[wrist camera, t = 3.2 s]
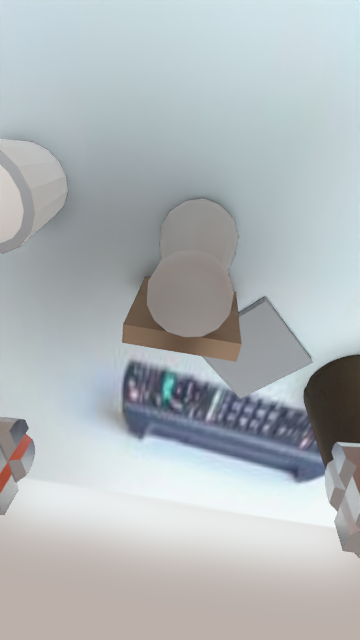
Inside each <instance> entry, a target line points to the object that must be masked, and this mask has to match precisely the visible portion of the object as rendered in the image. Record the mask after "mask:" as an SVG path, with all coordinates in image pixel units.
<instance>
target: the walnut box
mask: <svg viewBox="0 0 360 640" xmlns="http://www.w3.org/2000/svg"><path fill="white" fill-rule="evenodd" d="M149 279H150V278H148V277H145V278H144V281H143V283H142V285H141V287H140V289H139V291H138V294H137V296H136V298H135V300H134V302H133V304H132V307H131V309H130V311H129V313H128V315H127V317H126V320H125V322H124V324H123V338H122V343H128V344H134V345H140V346H146V347H152V348H157V349H163V350H169V351H175V352H181V353H187V354H193V355H199V356H205V357H211V358H217V359H223V360H229V361H235V362H237V359H238V355H239V352H240V348H241V345H242V343H241V334H240V325H239V316H238V307H237V298H236V292H234V295H233V300H232V305H231V310H230V314H229V316H228V317H227V319H226V320H225V321H224V322H223V323H222V324H221V326H220V327H219V328H218V329H216V330H214V331H212V332H210V333H208V334H206V335H204V336H201V337H182V336H179V335H176V334H173V333H170V332H167V331H166V330H165V329H164V328H163V327H161V326H160V325H159V324H158V323H157V322H156V321H155V320H154V319H153V317H152V314H151V312H150V310H149V308H148V306H147V292H148V281H149Z"/></svg>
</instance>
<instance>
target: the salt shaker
mask: <svg viewBox="0 0 360 640" xmlns="http://www.w3.org/2000/svg"><path fill="white" fill-rule="evenodd" d="M238 238H239V235H238V232H237V228H236V224H235V220H234V218H233V217H232V216H231V215H230V214H229V213H228V212H227V211H226V210H225V209H224V208H223V207H222V206H221V205H220V204H217V203H215V202H212V201H209V200H207V199H195V200H186V201H185V202H183V203H182V204H180V205H178V206H177V207H175V208H174V209H172V210H171V211H170V212H169V213H168V215H167V217H166V219H165V220H164V222H163V224H162V226H161V231H160V243H159V245H160V258H161V261H160V262H159V264H158V266H157V267H156V269H155V271H154V272H153V274H152V276H151V277H150V279H149V281H148V292H147V306H148V308H149V310H150V312H151V314H152V317H153V319H154V320H155V321H156V322H157V323H158V324H159V325H160V326H161V327H163V328H164V329H165V330H166V331H167V332H170V333H173V334H176V335H179V336H182V337H201V336H204V335H206V334H208V333H210V332H212V331H214V330H216V329H218V328H219V327H220V326H221V324H222V323H223V322H224V321H225V320H226V319H227V317H228V316H229V314H230V310H231V305H232V300H233V295H234V291H233V286H232V283H231V280H230V276H229V273H228V271H229V269H230V266H231V264H232V261H233V259H234V257H235V254H236V249H237V244H238Z"/></svg>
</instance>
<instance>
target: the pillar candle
mask: <svg viewBox="0 0 360 640" xmlns="http://www.w3.org/2000/svg"><path fill="white" fill-rule="evenodd" d="M304 403H305V407H306V410H307V413H308V416H309V419H310V423H311V426H312V429H313V432H314V435H315V438H316V442H317V445H318V448H319V451H320V454H321V457H322V460H323V463H324V466H325V470H326V468H327V464H328V463H329V462H331V461H332V460H334V459H333V455H332V449H333V446H334V444H335V443H336V442H343V443H359V444H360V355H357V356H350V357H346V358H341V359H340V360H336V361H334V362H332V363H330V364H327V365H326V366H325V367H323V368H322V369H321V370H319V371H318V372H316V373H315V374H314V375H313V376H312V377H311V378H310V380H309V382H308V385H307V387H306V388H305V391H304ZM355 554H356V555H357V556H358V557H359V558H360V553H355Z"/></svg>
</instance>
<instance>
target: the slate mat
mask: <svg viewBox="0 0 360 640" xmlns="http://www.w3.org/2000/svg"><path fill="white" fill-rule="evenodd" d="M238 316H239V325H240V334H241V343H242V345H241V348H240V352H239V355H238V359H237V362H235V361H229V360H223V359H217V358H211V357H205V356H202V357H203V358H204V359H205V360H206V362H207V363H208V364H209V365H210V366H211V367H212V368H213V369H214V370H215V371H216V373H217V374H218V375H219V376H220V377H221V378H222V379H223V380H224V381H225V382H226V383H227V385H228V386H229V387H230V388H231V389H232V390H233V391H234V392H235V393H236V394H237V395H238V397H239V398H242V397H244V396H246V395H248V394H251V393H253V392H255V391H257V390H259V389H261V388H263V387H265V386H267V385H269V384H271V383H273V382H275V381H277V380H279V379H281V378H283V377H285V376H287V375H289V374H291V373H293V372H295V371H297V370H299V369H301V368H303V367H305V366H307V365H309V364H311V363H313V362H312V360H311V357H310V356H309V355H308V353H307V352H306V351H305V349H304V348H303V347H302V345H301V344H300V343H299V341H298V340H297V339H296V337H295V336H294V335H293V333H292V332H291V331H290V329H289V328H288V327H287V325H286V324H285V323H284V321H283V320H282V319H281V317H280V316H279V315H278V313H277V312H276V311H275V309H274V308H273V307H272V305H271V304H270V303H269V301H268V300H267V299H266V297H264V298H262V299H261V300H259V301H257V302H256V303H254V304H252V305H251V306H249V307H247V308H246V309H244V310H243V311H241V312H239V313H238Z"/></svg>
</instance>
